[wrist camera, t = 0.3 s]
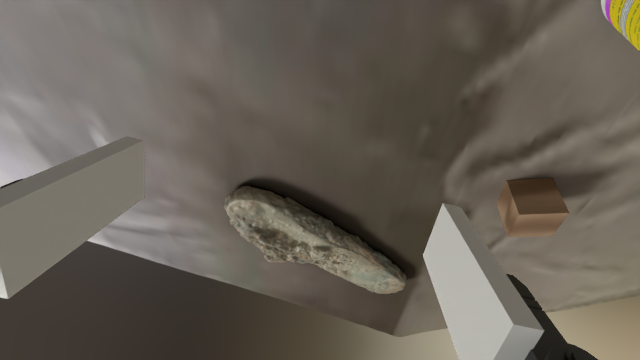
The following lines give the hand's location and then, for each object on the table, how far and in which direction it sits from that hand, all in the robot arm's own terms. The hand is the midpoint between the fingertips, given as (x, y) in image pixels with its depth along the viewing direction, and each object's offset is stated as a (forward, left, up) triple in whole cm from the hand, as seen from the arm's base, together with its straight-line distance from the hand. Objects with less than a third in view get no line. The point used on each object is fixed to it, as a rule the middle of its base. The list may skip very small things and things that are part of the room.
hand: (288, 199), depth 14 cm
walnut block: (+16, +25, -16) cm, 33 cm away
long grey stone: (+32, +5, -16) cm, 36 cm away
